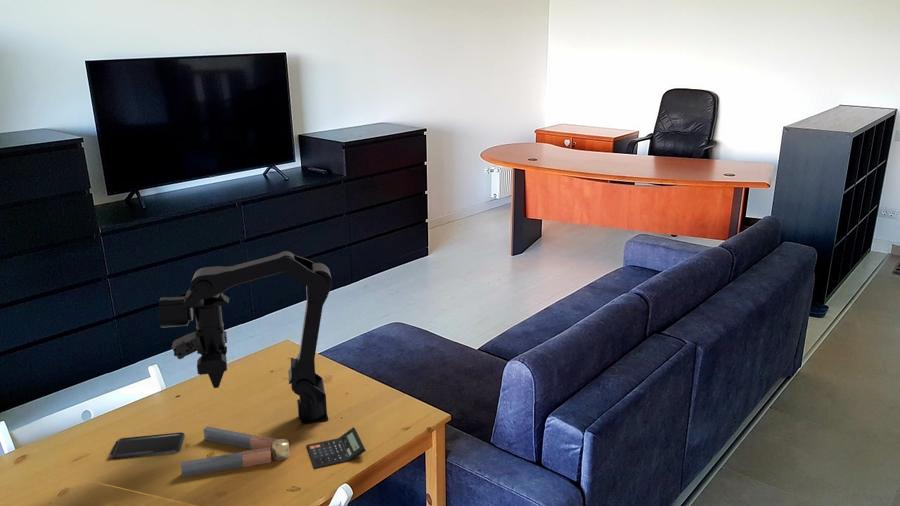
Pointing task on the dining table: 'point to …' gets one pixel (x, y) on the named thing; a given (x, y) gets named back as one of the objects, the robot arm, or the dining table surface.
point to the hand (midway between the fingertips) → (216, 383)
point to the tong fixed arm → (226, 462)
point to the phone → (147, 445)
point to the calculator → (336, 450)
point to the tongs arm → (248, 441)
